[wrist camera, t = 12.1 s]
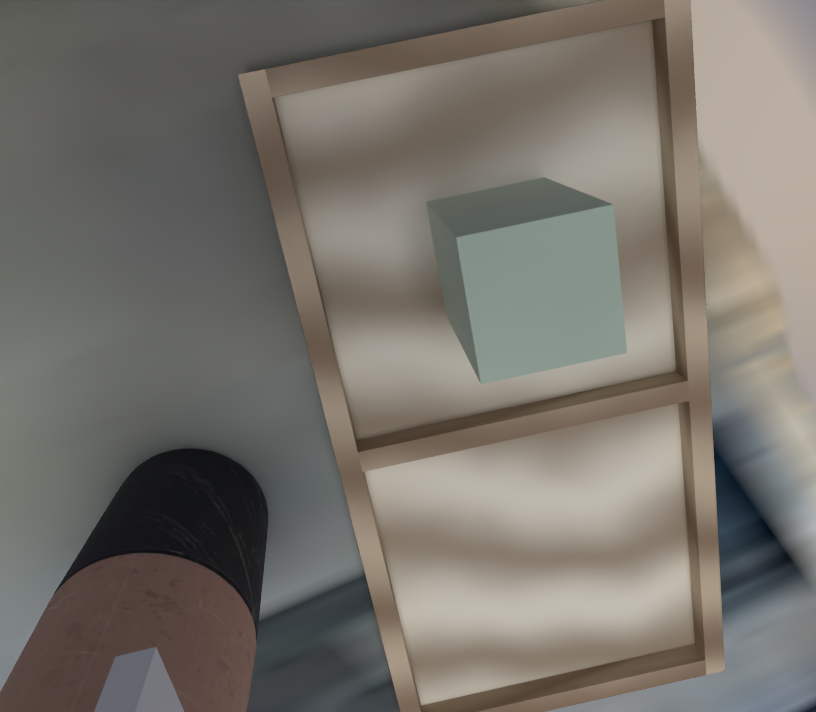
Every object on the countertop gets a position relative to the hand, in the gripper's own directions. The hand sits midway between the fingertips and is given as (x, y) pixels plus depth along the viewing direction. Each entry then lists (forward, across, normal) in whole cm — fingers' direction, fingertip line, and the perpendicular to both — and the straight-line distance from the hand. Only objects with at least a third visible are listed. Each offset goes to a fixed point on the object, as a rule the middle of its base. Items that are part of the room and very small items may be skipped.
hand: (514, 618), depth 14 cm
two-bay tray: (+20, +4, -6) cm, 21 cm away
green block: (+19, +4, +2) cm, 20 cm away
